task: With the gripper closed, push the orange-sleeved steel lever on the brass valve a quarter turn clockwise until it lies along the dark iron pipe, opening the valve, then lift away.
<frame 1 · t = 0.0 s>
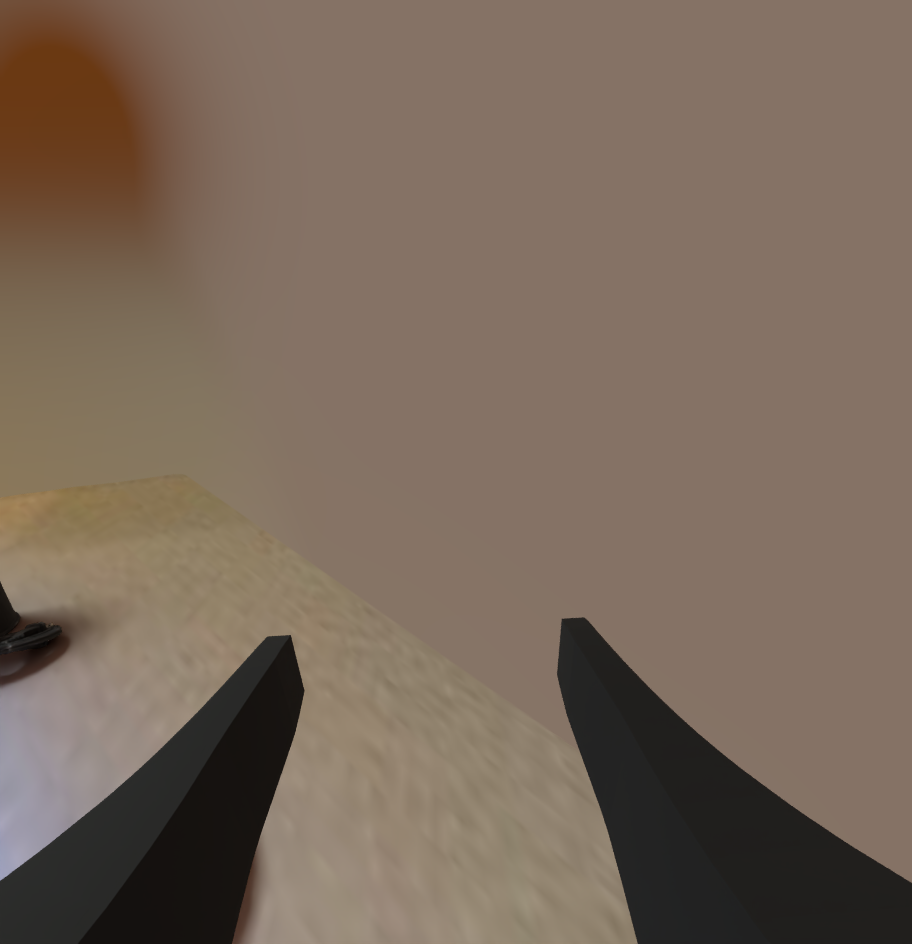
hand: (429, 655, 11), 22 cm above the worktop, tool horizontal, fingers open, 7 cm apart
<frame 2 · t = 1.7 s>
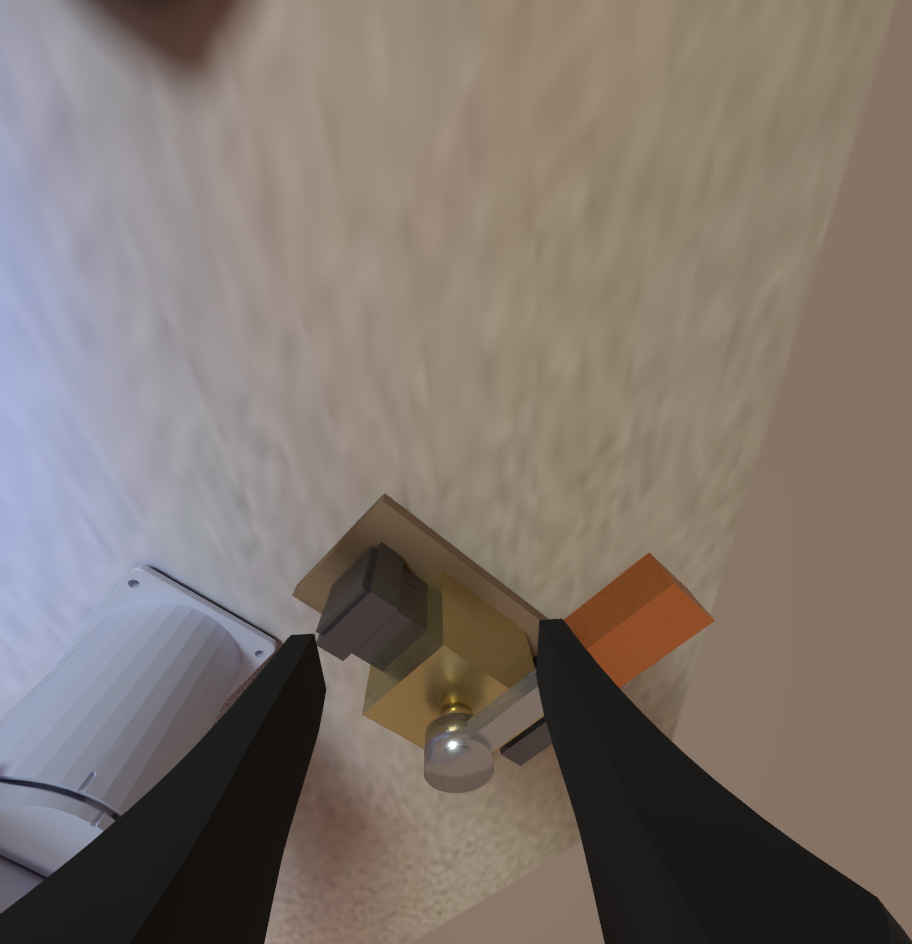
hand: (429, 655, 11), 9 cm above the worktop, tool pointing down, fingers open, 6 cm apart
lever: (545, 686, 15), point 7 cm above the worktop, hinge at 0.0°
valve: (453, 672, 20), on the plank, point 4 cm above the worktop
plank: (451, 619, 23), on the worktop
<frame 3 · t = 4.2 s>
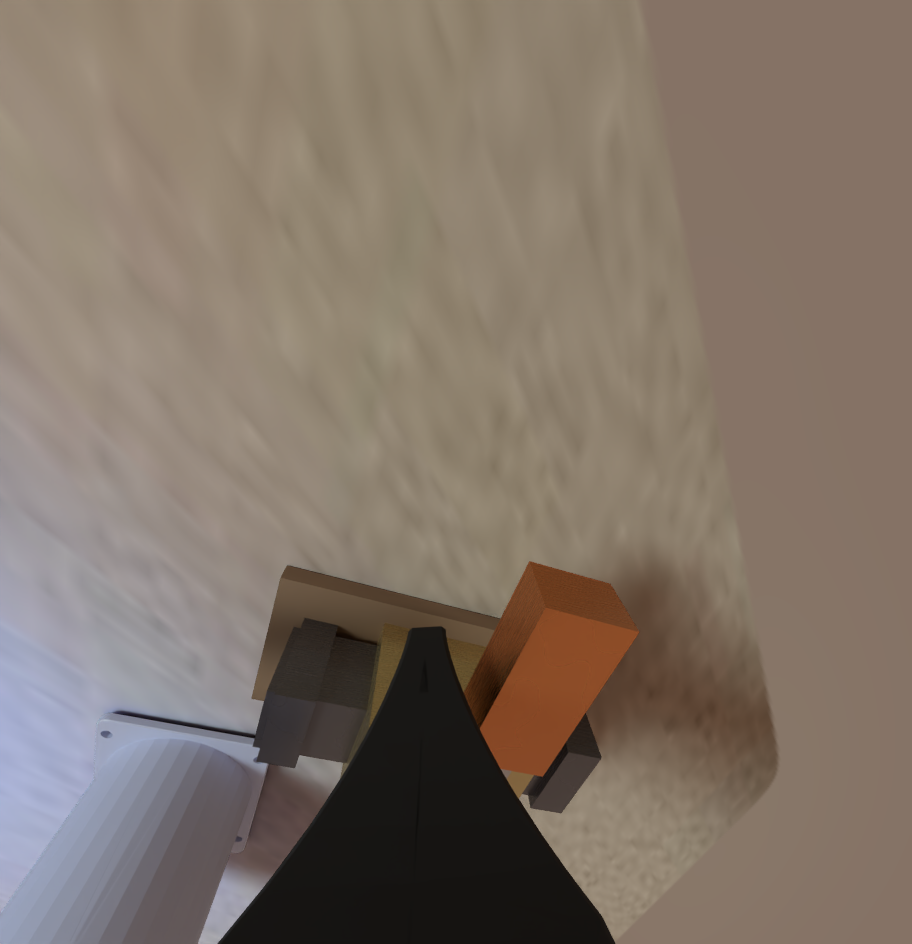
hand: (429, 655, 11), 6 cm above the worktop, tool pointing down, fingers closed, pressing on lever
lever: (486, 759, 12), point 7 cm above the worktop, hinge at 0.0°, touching gripper
valve: (433, 736, 17), on the plank, point 4 cm above the worktop
plank: (433, 664, 20), on the worktop
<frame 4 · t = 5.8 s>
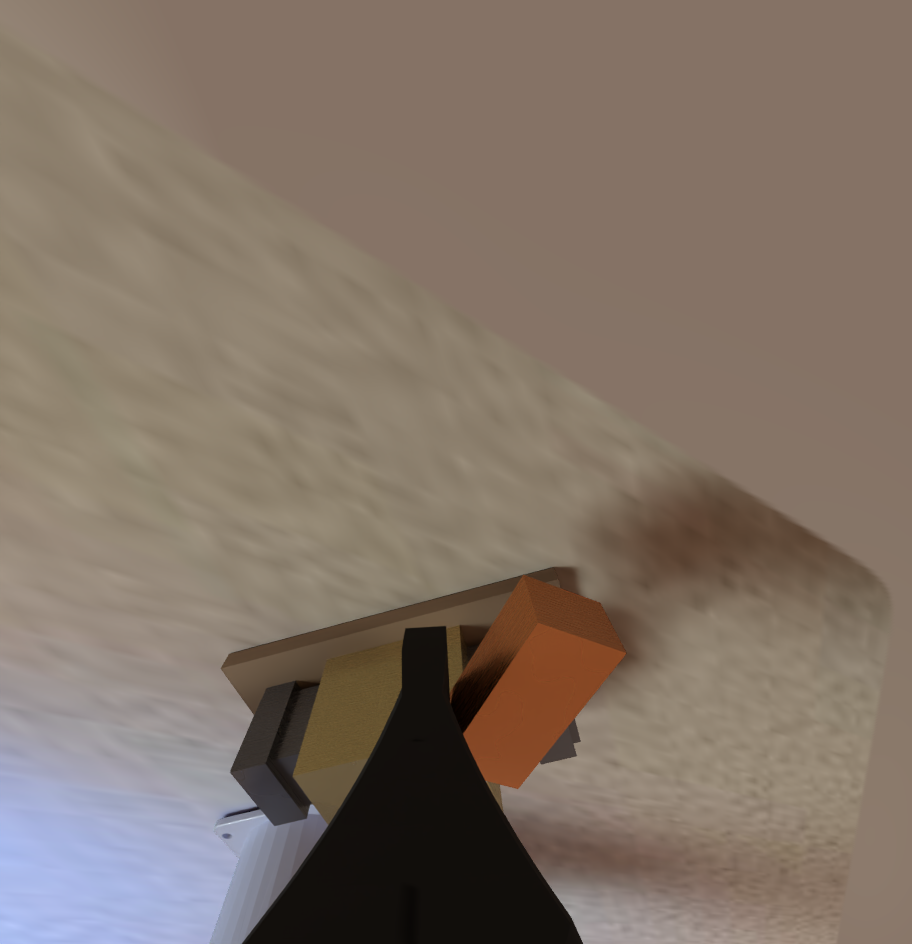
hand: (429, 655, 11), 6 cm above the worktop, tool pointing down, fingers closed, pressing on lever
lever: (462, 767, 12), point 7 cm above the worktop, hinge at -41.3°, touching gripper
valve: (407, 740, 17), on the plank, point 4 cm above the worktop
plank: (412, 667, 20), on the worktop
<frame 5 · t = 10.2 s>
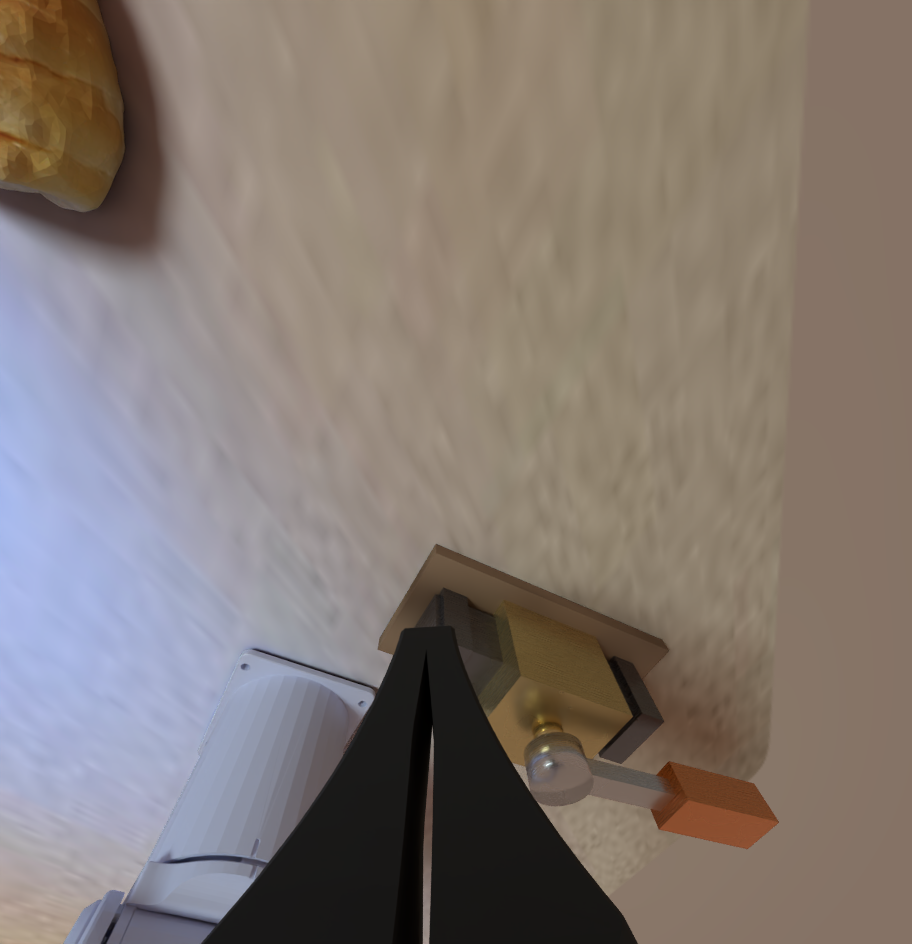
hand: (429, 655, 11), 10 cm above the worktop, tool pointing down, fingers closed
lever: (647, 790, 19), point 7 cm above the worktop, hinge at -85.5°
valve: (537, 692, 21), on the plank, point 4 cm above the worktop
plank: (523, 639, 24), on the worktop
pastry: (25, 67, 14), on the worktop
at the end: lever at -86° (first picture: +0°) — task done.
